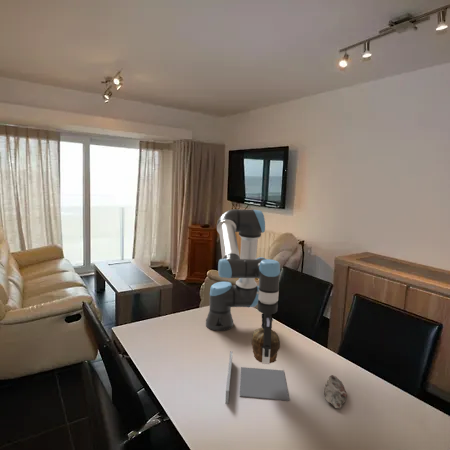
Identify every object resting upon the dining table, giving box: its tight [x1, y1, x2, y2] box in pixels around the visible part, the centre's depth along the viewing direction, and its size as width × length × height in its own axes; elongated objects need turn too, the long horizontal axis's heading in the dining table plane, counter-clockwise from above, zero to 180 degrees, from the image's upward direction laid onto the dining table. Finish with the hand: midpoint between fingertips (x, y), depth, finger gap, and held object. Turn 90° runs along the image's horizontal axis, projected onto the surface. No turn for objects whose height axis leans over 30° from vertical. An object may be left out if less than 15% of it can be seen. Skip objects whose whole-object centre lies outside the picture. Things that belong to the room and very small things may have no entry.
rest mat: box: [239, 366, 290, 401], centre depth 122 cm, size 18×18×1 cm
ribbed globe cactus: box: [250, 327, 281, 364], centre depth 120 cm, size 11×11×12 cm
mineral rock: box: [323, 375, 348, 409], centre depth 116 cm, size 15×8×4 cm, turn 148°
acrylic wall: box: [225, 351, 233, 405], centre depth 123 cm, size 26×1×5 cm, turn 176°
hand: (264, 355), depth 121 cm, fingers closed on ribbed globe cactus, 11 cm apart
